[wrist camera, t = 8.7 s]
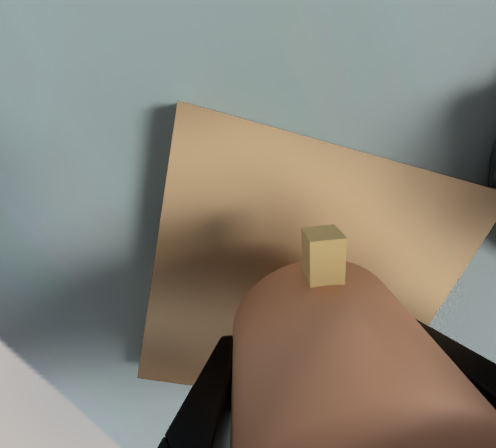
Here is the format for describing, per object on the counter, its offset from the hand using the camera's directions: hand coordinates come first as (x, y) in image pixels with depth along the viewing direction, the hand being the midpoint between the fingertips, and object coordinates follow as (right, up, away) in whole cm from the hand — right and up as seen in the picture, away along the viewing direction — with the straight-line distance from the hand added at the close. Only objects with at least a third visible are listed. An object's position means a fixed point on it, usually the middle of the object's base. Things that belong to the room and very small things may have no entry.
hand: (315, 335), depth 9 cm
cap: (0, 0, 0) cm, 0 cm away
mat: (0, +1, +3) cm, 3 cm away
